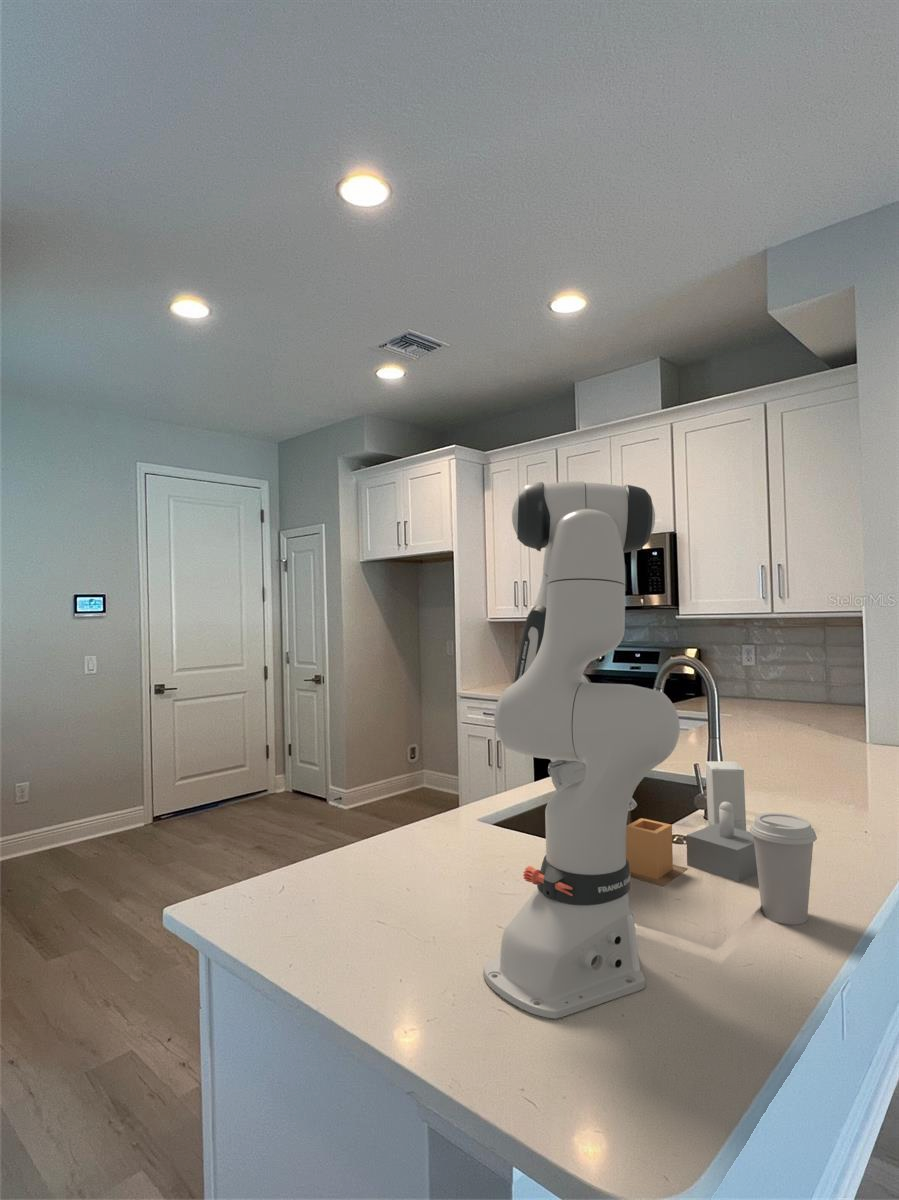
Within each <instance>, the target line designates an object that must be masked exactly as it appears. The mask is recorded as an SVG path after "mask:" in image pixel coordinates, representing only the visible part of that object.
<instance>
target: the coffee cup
mask: <svg viewBox="0 0 899 1200" xmlns="http://www.w3.org/2000/svg"><path fill="white" fill-rule="evenodd" d="M749 832H750V833H751V834H752V835H753V838H754V846H755V855H756V863H757V880H758V889H759V897H760V904H761V905H760V907H761V914H762V915H763V916H764V917H765V918H766V919H768V920H770V921H771V922H774V923H778V924H783V925H788V926H790V925H791V926H793V925H794V926H798V925H803V924H804V923H806V922H807V921H808V914H809V913H808V912H809V903H810V902H809V901H810V887H811V876H812V873H811V872H812V863H813V862H812V861H813V859H812V858H813V849H814V842H816V841H817V840H818V839H817V838H818V837H817V834H816V831H815V829H814V828H813V827H812V824H811V822H810V821H809V820H807V818H804V817H801V816H798V815H794V814H790V813H781V812H765V813H760V814H756V816H755V817H754V820H753V822H752V823H751V825H750V827H749Z"/></svg>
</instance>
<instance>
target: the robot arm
mask: <svg viewBox="0 0 899 1200" xmlns="http://www.w3.org/2000/svg"><path fill="white" fill-rule="evenodd" d="M651 496H652V495H650V494H649V492H648V491H647V490H646V489H645V488H642V487H639V486H635V485H630V484H625V485H624V486H621V485H617V484H609V483H599V482H598V483H597V482H585V481H580V480H579V481H576V480H575V481H560V482H551V483H550V482H548V483H544V482H543V481H540V482H534V483H529V484H526V485H523V487H522V488H521V489H520V490H519V491H518V494H517V496H516V499H515V501H514V504H513V506H512V511H511V522H512V527H513V530H514V532H515V534H516V536H517V540H518V541H519V542H520V543H521V544H522V545H524V546H525V547H528V548H531V549H535V550H536V551H538V552H539V553H540V552H541V551H542V549H544V554H543V567H542V576H541V577H542V578H541V582H540V583H541V584H540V587H539V591H538V594H537V597H536V599H535V603H534V604H533V607H532V608H531V610H530V611H529V613H528V615H527V617H526V619H525V622H524V626H523V631H522V636H521V641H520V647H519V653H518V658H517V663H516V668H515V669H516V670H515V674H514V680H513V683H511V685H509V686H507V688H506V689H504V690H503V692H502V693H501V694H500V697H499V698H498V700H497V702H496V704H495V705H496V706H495V708H494V715H493V716H494V717H493V719H494V721H493V722H494V723H493V724H494V728H495V732H496V734H497V737H498V738H499V741H500V742H501V744H502V745H503V746H504V747H505V749H507V750H509V751H513V752H514V753H515V752H516V753H519V754H522V755H526V756H530V757H532V758H537V759H544V760H545V759H547V760H550V762H549V763H548V767H547V773H548V775H549V776H550V778H551V783H552V784H553V787H554V789H555V790H556V792H555V793H553V795H551V797H550V798H549V800H548V802H547V804H546V807H545V809H544V811H545V812H544V813H545V814H544V817H545V819H544V820H545V855H544V857H543V860H542V863H541V866H540V867H541V868H540V869H536V868H534V867H533V866H532V865H530V866H529V865H528V866H526V868H524V871H523V875H522V876H523V880H525V881H526V882H529V883H531V884H533V885H534V886H535V885H536V890H535V891H534V892H533V893H532V894H531V896H530V897H529V898H528V899H527V901H526V902H525V903H524V905H523V906H522V907H521V908H520V910H518V912H517V913H516V914H515V916H514V917H513V918H512V919H511V921H509V923H508V924H507V925H506V926H505V928H504V930H503V933H502V938H501V945H500V955H498V956H496V957H495V958H494V959H492V960H490V961H489V962H487V963H486V964H485V965H484V966H483V972H482V974H483V979H484V981H485V982H486V984H487V985H488V986H489V987H490V988H491V989H492V990H493V991H494V992H495V993H496V994H497V995H499V996H501V998H503V999H504V1000H506V1001H507V1002H509V1003H511V1004H512V1005H514V1006H516V1007H518V1008H520V1009H522V1010H523V1011H525V1012H528V1013H531V1014H533V1015H536V1016H540V1017H543V1018H547V1019H548V1018H549V1019H560V1018H562V1017H566V1016H570V1015H571V1014H574V1013H577V1012H579V1011H580V1012H581V1011H583V1010H586V1009H589V1008H592V1007H594V1006H598V1005H601V1004H603V1003H606V1002H609V1001H612V1000H615V999H618V998H621V997H624V996H627V995H630V994H633V993H636V992H638V991H641V990H643V989H645V988H646V985H647V984H646V978H645V975H644V973H643V971H642V970H641V968H642V967H641V966H642V963H641V960H640V956H639V950H638V941H637V934H636V932H637V931H636V927H635V919H634V915H633V912H632V908H631V904H630V899H629V894H628V893H629V891H630V889H631V873H630V868H629V861H628V860H627V859H626V828H627V825H628V823H627V822H628V814H629V812H631V811H632V810H634V809H635V808H636V807H637V806H638V804H637V802H636V800H635V799H634V798H633V795H634V793H635V791H636V789H637V787H638V785H640V782H641V781H643V779H644V778H645V777H646V775H647V774H649V773H650V772H651V771H652V770H653V769H655V768H656V767H658V766H659V765H660V764H662V763H663V762H665V761H666V760H667V759H668V758H669V757H670V756H671V754H672V753H673V752H674V750H675V748H676V746H677V743H678V741H679V737H680V729H681V728H680V727H681V725H680V724H681V723H680V719H679V715H678V712H677V709H676V707H675V705H674V703H673V702H672V701H671V699H670V698H669V697H668V695H666V693H664V692H663V691H660V690H656V689H652V688H649V687H643V686H639V685H636V684H631V683H630V684H629V683H627V684H626V683H600V682H592V681H591V679H590V678H589V676H587V675H586V674H585V673H584V671H586V668H587V666H588V665H589V664H590V663H591V662H593V661H595V660H597V659H599V658H601V657H604V656H605V655H607V654H610V653H612V651H614V650H615V649H616V648H617V647H618V646H620V644H621V642H622V640H623V639H624V636H625V631H626V630H625V629H626V628H625V627H626V624H625V623H626V563H625V553H630V552H635V551H638V550H641V549H642V548H643V547H644V546H645V545H647V544H648V543H649V541H650V538H651V535H652V534H653V531H654V527H655V523H656V513H655V512H656V511H655V507H654V504H653V501H652V497H651Z"/></svg>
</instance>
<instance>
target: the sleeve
mask: <svg viewBox="0 0 899 1200" xmlns="http://www.w3.org/2000/svg"><path fill="white" fill-rule="evenodd" d="M626 859H627V860H628V861H629V868H630V872H633V873H636V874H640V875H643V876H647V877H651V878H654V879H659V878H660V877H662V876H663V875H665V874H666V873H668V872H669V871H671V870H672V869H673V865H674V863H673V860H674V859H673V825H672V824H669V823H665V822H660V821H656V820H652V819H648V818H642V817H640V818H638V819H637V820H635V821H633V822H631V823H629V824H627V828H626Z"/></svg>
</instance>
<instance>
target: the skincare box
mask: <svg viewBox="0 0 899 1200" xmlns="http://www.w3.org/2000/svg"><path fill="white" fill-rule="evenodd" d="M704 766H705V783H706V784H705V785H706V806H707V808H706V809H707V827H709V826H712V825H714V824H717V823H718V824H720V820H719V806H720V804H721V803H722V802H729V803H731V804H732V806H733V809H734V828H736V829H740V830H744V831H747V817H746V812H747V811H746V791H745V790H746V789H745V771H744V770H745V769H744V768H743V767H742V766H740V764H739V763H738V762H737V761H734V760H731V761H727V760H725V761H718V760H717V761H714V760H713V761H712V760H711V761H710V760H709V761H707V760H706V761H705V765H704Z"/></svg>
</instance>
